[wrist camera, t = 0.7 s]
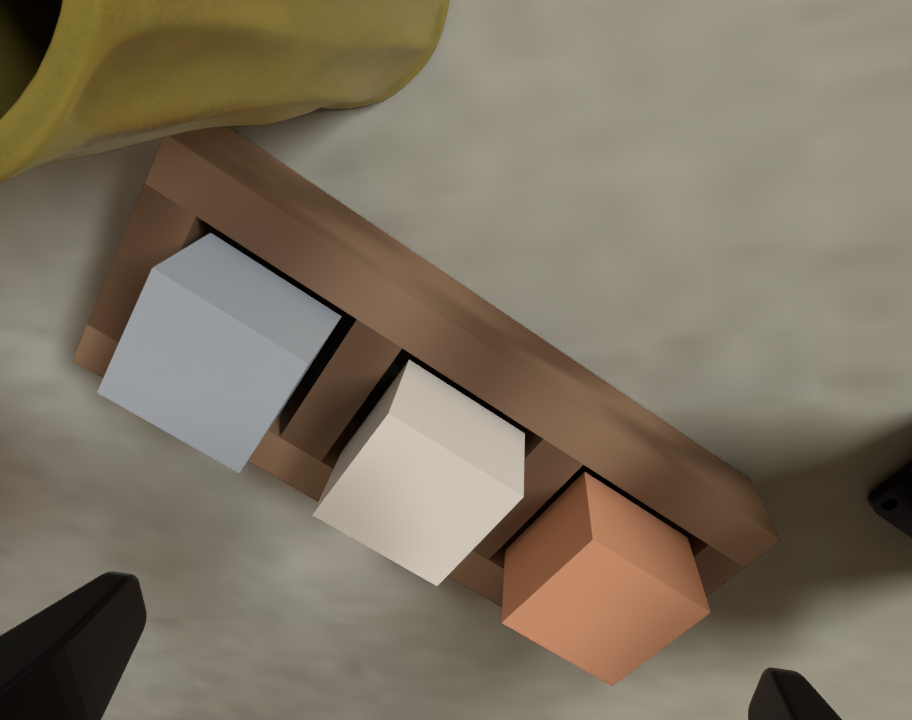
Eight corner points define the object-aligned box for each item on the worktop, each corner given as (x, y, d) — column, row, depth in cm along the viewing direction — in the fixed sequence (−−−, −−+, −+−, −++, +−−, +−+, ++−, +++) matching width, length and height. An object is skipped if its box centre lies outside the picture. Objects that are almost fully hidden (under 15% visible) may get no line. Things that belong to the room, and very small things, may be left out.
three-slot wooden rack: (751, 479, 22) (780, 540, 19) (602, 603, 25) (610, 669, 23) (217, 119, 18) (165, 133, 16) (128, 321, 22) (72, 360, 19)
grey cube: (341, 316, 18) (309, 364, 15) (278, 415, 20) (239, 473, 17) (210, 232, 17) (152, 268, 15) (157, 343, 19) (96, 392, 16)
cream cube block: (524, 433, 19) (523, 496, 16) (449, 516, 21) (437, 586, 18) (409, 359, 18) (388, 413, 16) (341, 452, 20) (312, 515, 18)
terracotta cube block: (687, 537, 20) (710, 612, 18) (602, 607, 22) (611, 685, 19) (584, 471, 20) (593, 539, 17) (505, 550, 21) (501, 622, 19)
